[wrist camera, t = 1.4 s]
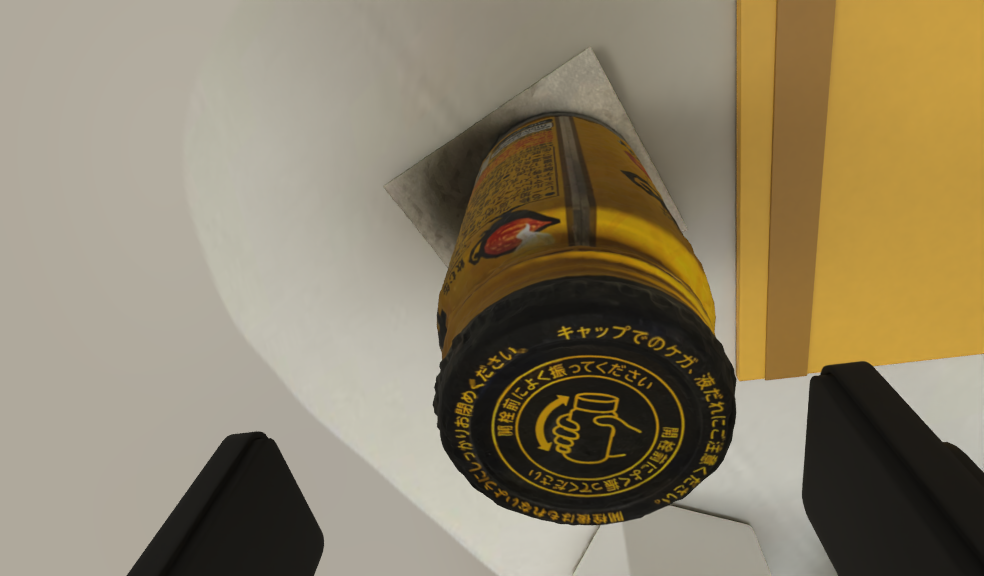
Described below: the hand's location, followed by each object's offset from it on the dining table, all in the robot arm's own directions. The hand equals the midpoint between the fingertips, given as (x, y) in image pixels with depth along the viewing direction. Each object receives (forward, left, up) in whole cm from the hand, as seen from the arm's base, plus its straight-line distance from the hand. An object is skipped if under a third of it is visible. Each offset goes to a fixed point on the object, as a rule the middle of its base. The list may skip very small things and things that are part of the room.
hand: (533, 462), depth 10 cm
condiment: (0, 0, -12) cm, 12 cm away
